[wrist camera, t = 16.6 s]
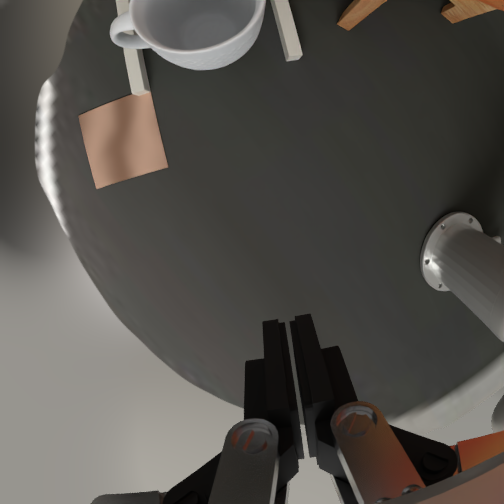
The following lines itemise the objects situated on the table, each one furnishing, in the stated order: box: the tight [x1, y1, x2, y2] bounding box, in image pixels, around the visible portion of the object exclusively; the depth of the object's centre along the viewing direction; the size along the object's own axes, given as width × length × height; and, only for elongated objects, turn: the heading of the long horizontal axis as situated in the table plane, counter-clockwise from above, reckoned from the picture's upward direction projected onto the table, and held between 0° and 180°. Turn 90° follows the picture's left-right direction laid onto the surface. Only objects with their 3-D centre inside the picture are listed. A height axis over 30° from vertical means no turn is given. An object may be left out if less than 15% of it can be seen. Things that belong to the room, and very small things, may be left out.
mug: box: [110, 0, 266, 70], centre depth 23 cm, size 15×11×13 cm
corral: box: [116, 0, 302, 96], centre depth 27 cm, size 19×16×2 cm
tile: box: [79, 92, 168, 189], centre depth 33 cm, size 10×10×1 cm
